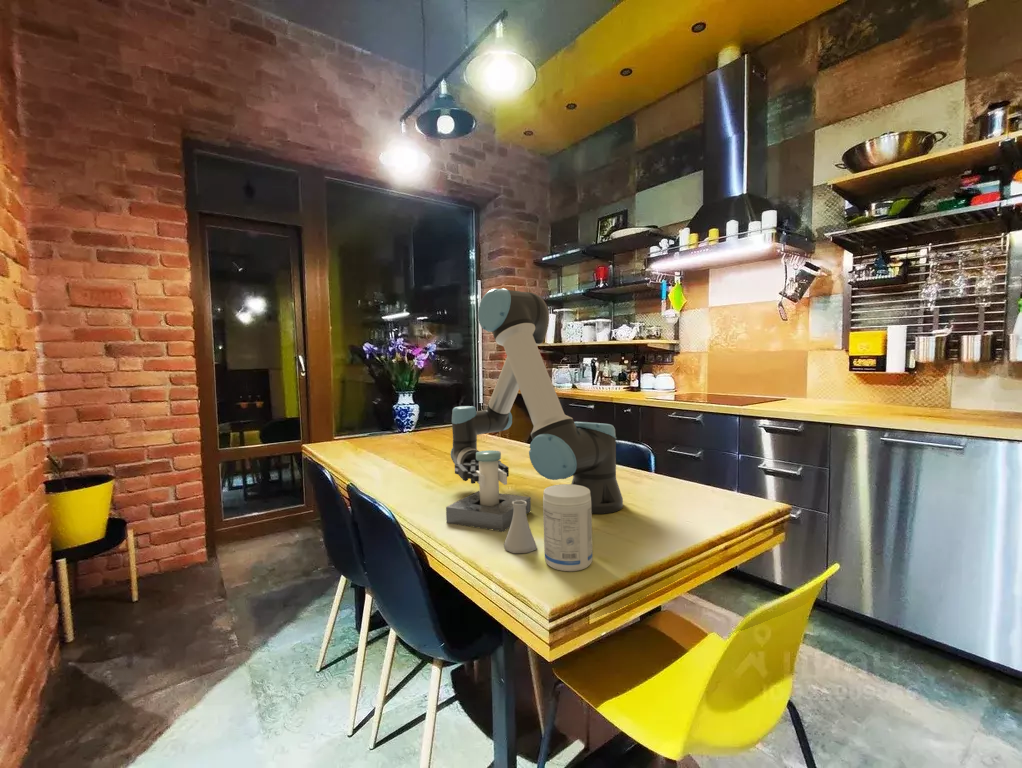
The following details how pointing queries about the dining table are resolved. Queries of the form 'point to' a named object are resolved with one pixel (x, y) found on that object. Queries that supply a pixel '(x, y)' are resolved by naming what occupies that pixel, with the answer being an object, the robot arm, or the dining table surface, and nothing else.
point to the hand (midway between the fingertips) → (494, 480)
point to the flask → (519, 531)
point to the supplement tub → (567, 527)
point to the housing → (484, 512)
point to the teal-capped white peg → (489, 477)
